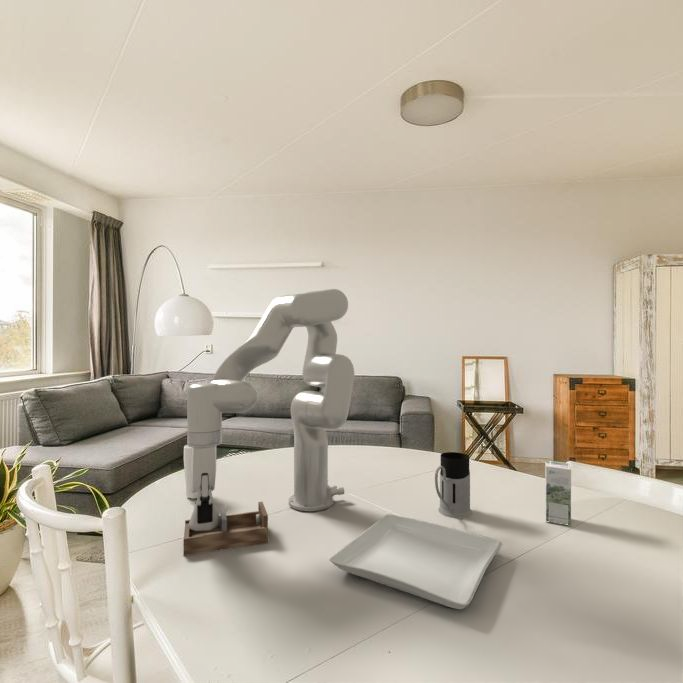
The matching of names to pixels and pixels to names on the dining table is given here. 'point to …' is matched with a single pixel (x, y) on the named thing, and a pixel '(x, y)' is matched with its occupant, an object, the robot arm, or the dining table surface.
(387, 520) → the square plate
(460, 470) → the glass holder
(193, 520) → the flask
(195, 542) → the wooden tray
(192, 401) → the robot arm
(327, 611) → the dining table surface
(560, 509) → the syrup box
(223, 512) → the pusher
